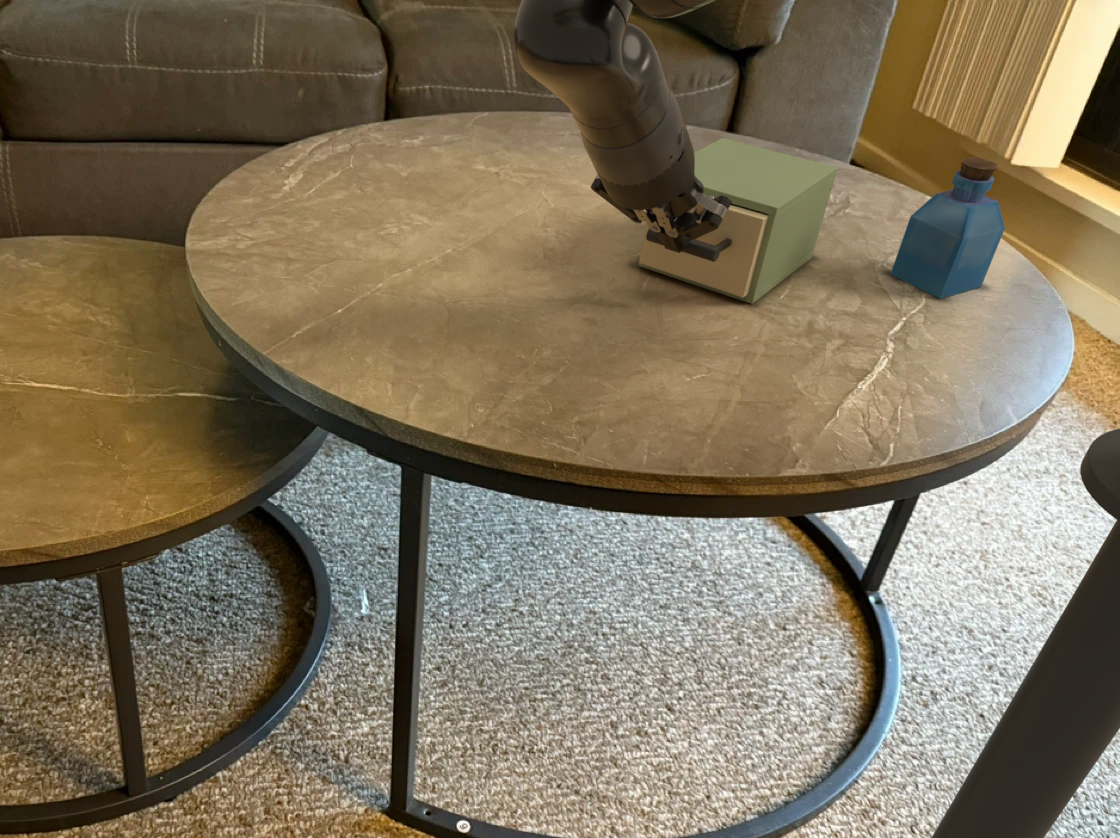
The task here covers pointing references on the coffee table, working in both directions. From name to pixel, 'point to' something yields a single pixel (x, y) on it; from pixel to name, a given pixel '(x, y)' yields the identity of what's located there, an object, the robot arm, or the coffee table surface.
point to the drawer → (714, 252)
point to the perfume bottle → (953, 235)
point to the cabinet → (768, 204)
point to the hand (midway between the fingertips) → (678, 242)
